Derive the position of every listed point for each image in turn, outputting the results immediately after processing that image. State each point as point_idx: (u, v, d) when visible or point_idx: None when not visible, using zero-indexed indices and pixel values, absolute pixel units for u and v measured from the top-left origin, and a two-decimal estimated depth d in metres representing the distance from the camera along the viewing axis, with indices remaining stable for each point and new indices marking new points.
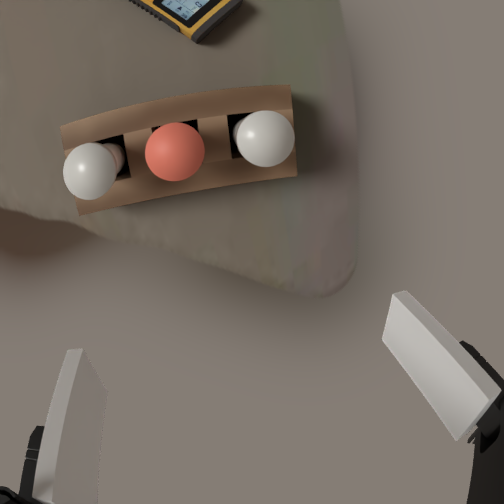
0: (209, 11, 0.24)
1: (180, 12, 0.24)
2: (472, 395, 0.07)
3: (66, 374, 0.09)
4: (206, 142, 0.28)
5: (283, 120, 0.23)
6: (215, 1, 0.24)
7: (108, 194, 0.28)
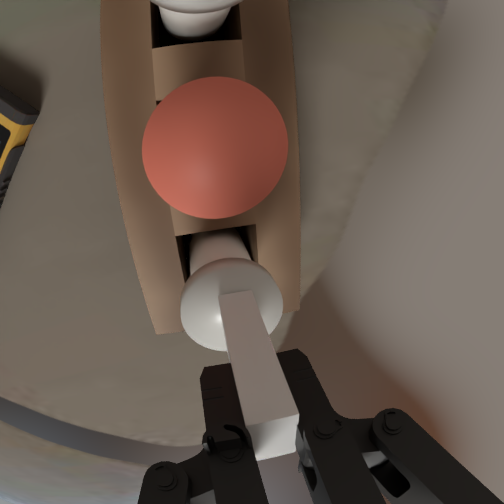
0: None
1: None
2: None
3: (229, 313, 0.12)
4: None
5: None
6: None
7: (278, 263, 0.19)
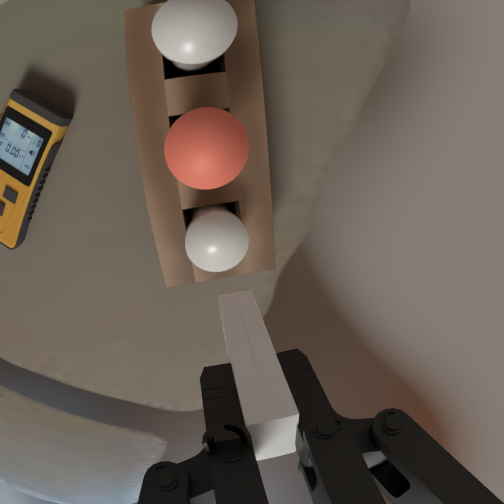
0: (30, 118, 0.19)
1: (35, 149, 0.21)
2: None
3: (229, 313, 0.12)
4: (200, 103, 0.20)
5: (167, 6, 0.12)
6: (18, 117, 0.19)
7: (256, 230, 0.25)
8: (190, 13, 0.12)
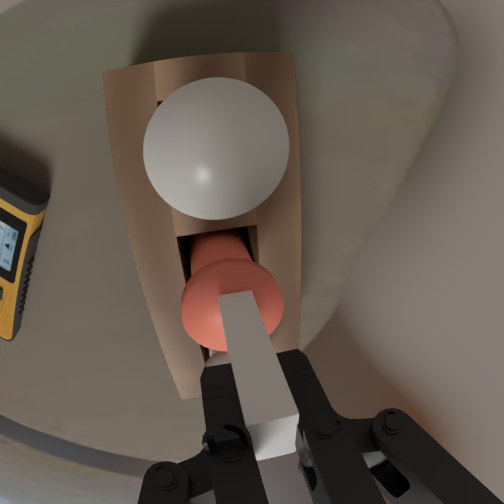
0: None
1: (11, 243, 0.17)
2: None
3: (229, 313, 0.12)
4: (218, 220, 0.17)
5: (167, 108, 0.08)
6: None
7: (280, 350, 0.22)
8: (209, 125, 0.09)
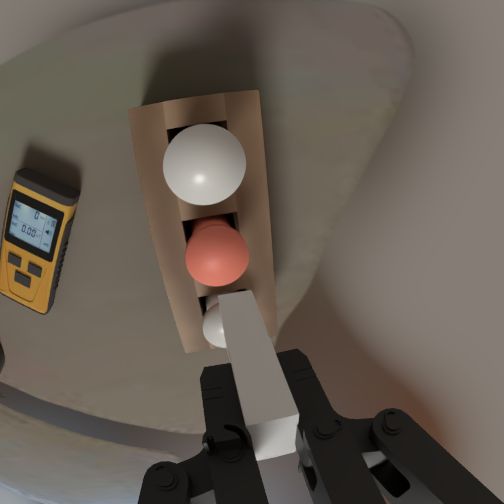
0: (39, 200, 0.23)
1: (51, 229, 0.25)
2: None
3: (229, 313, 0.12)
4: (210, 209, 0.24)
5: (176, 143, 0.16)
6: (27, 199, 0.23)
7: (261, 309, 0.29)
8: (199, 152, 0.16)
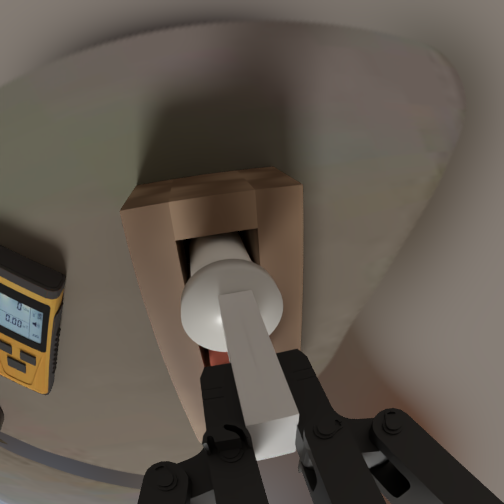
0: (19, 292, 0.18)
1: (38, 322, 0.20)
2: None
3: (229, 313, 0.12)
4: None
5: (196, 292, 0.13)
6: (5, 289, 0.18)
7: None
8: None
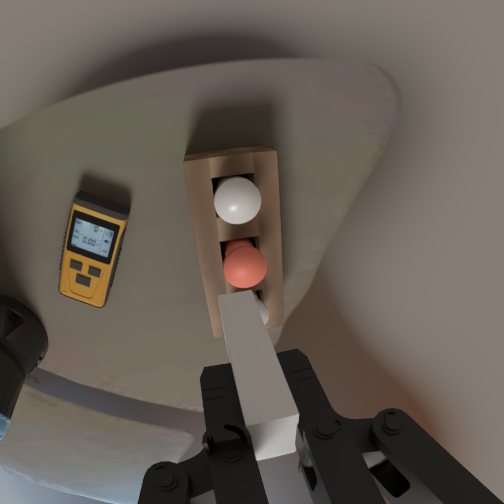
0: (98, 217, 0.34)
1: (109, 239, 0.35)
2: None
3: (229, 313, 0.12)
4: (240, 233, 0.35)
5: (222, 189, 0.29)
6: (87, 217, 0.33)
7: (272, 305, 0.40)
8: (235, 194, 0.30)
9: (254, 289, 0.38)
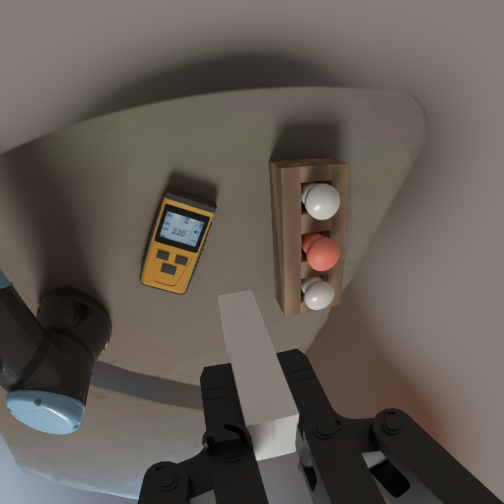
0: (190, 210, 0.41)
1: (198, 229, 0.43)
2: None
3: (229, 313, 0.12)
4: (317, 228, 0.43)
5: (314, 192, 0.37)
6: (179, 210, 0.41)
7: (333, 287, 0.48)
8: (322, 196, 0.38)
9: (322, 273, 0.46)
